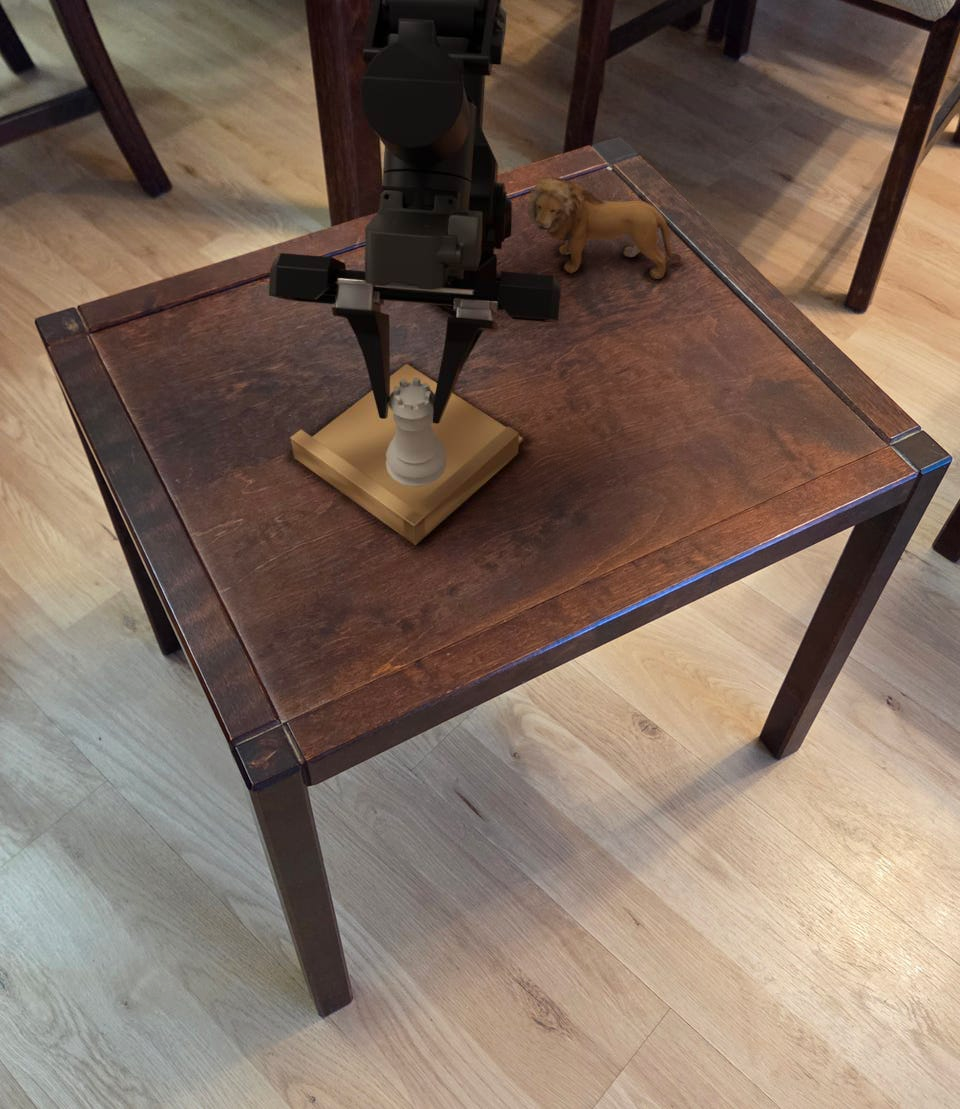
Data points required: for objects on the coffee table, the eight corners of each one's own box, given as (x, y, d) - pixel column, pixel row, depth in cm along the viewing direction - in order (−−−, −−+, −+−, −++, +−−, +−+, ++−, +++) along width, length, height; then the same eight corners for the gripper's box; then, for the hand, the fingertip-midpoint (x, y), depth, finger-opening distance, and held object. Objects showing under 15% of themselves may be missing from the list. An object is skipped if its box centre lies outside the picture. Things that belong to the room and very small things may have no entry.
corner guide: (291, 456, 85) (287, 435, 83) (406, 366, 91) (405, 345, 89) (415, 545, 80) (414, 525, 78) (528, 444, 86) (530, 423, 84)
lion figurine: (526, 283, 98) (531, 199, 90) (523, 246, 101) (527, 163, 93) (684, 280, 98) (701, 197, 91) (675, 244, 101) (692, 161, 94)
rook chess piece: (456, 454, 78) (455, 378, 71) (431, 498, 76) (427, 424, 69) (402, 436, 79) (396, 359, 72) (375, 478, 77) (367, 403, 70)
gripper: (249, 143, 61) (238, 414, 64) (572, 167, 60) (546, 442, 63) (296, 176, 72) (285, 406, 75) (570, 197, 71) (547, 430, 74)
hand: (409, 420), depth 71 cm, fingers closed on rook chess piece, 3 cm apart
